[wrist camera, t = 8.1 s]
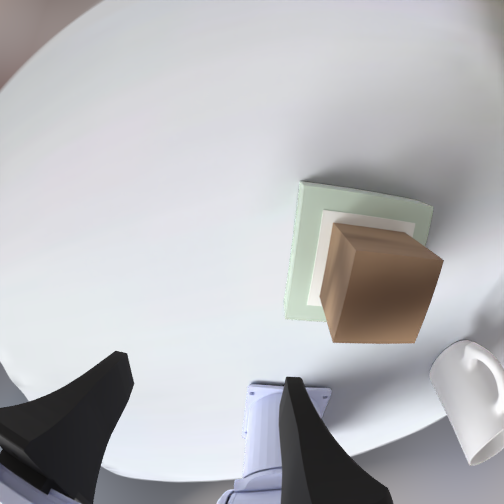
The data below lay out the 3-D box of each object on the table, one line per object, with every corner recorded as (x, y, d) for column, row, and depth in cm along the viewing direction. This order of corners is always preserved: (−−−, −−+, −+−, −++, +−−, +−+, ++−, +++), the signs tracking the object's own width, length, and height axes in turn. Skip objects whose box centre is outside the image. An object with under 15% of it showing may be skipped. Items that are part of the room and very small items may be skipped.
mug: (472, 370, 24) (516, 440, 13) (425, 393, 25) (461, 474, 14) (481, 302, 21) (551, 375, 10) (427, 328, 22) (489, 422, 11)
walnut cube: (386, 301, 18) (414, 343, 14) (319, 296, 19) (332, 342, 14) (404, 232, 17) (443, 260, 12) (332, 222, 17) (355, 250, 12)
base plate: (390, 308, 21) (401, 325, 19) (283, 301, 22) (285, 320, 19) (417, 200, 18) (434, 207, 16) (299, 181, 19) (304, 185, 16)
